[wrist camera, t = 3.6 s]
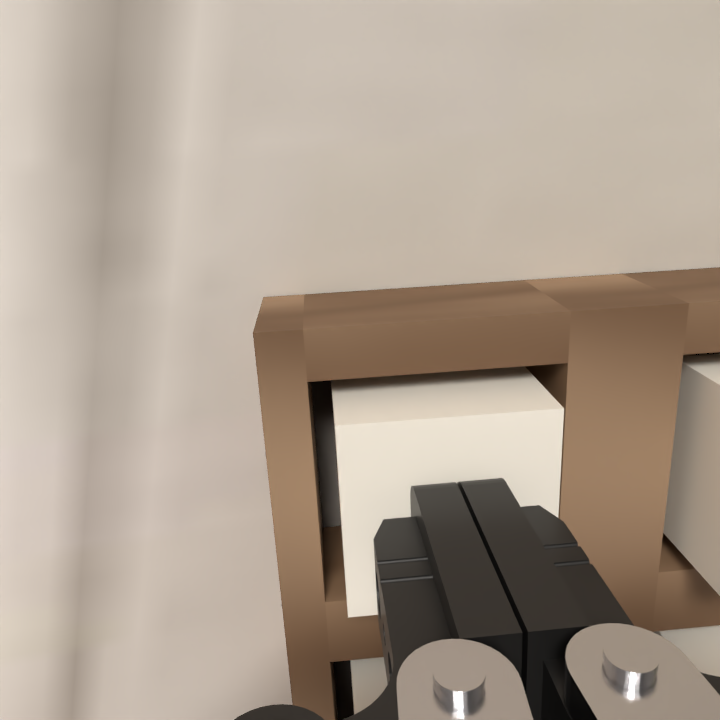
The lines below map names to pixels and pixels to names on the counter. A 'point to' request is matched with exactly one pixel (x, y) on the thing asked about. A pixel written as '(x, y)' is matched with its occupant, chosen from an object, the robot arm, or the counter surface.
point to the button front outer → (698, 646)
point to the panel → (487, 351)
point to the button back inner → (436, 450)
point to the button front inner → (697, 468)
